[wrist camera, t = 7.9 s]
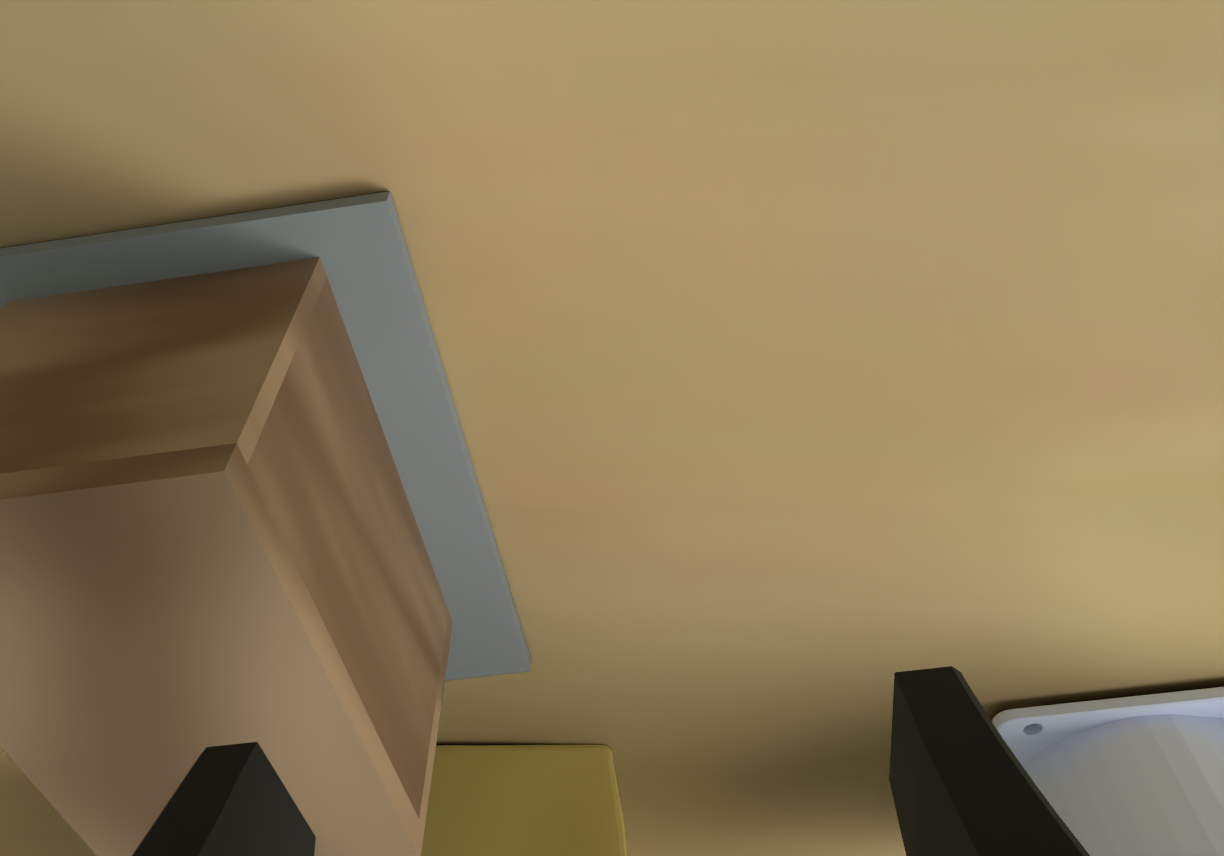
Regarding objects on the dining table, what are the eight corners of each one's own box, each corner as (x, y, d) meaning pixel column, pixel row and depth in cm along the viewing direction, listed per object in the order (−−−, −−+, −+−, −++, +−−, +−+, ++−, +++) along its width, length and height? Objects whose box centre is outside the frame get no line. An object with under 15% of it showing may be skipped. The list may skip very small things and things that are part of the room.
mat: (389, 191, 18) (386, 201, 17) (530, 658, 25) (530, 671, 25) (-86, 261, 18) (-98, 271, 18) (195, 696, 26) (190, 709, 26)
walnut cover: (319, 257, 18) (224, 470, 13) (452, 622, 24) (420, 859, 19) (5, 302, 18) (-198, 525, 14) (214, 650, 24) (125, 888, 20)
